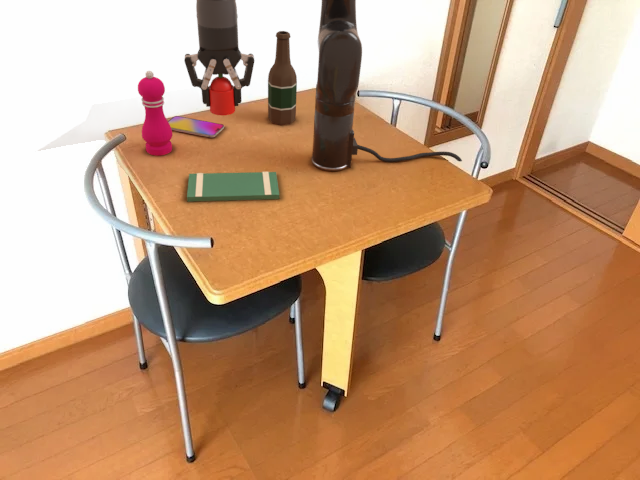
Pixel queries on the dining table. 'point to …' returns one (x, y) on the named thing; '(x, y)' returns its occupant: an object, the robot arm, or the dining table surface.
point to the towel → (232, 186)
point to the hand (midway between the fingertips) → (222, 104)
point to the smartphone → (195, 126)
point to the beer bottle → (282, 84)
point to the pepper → (221, 96)
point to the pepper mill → (154, 116)
